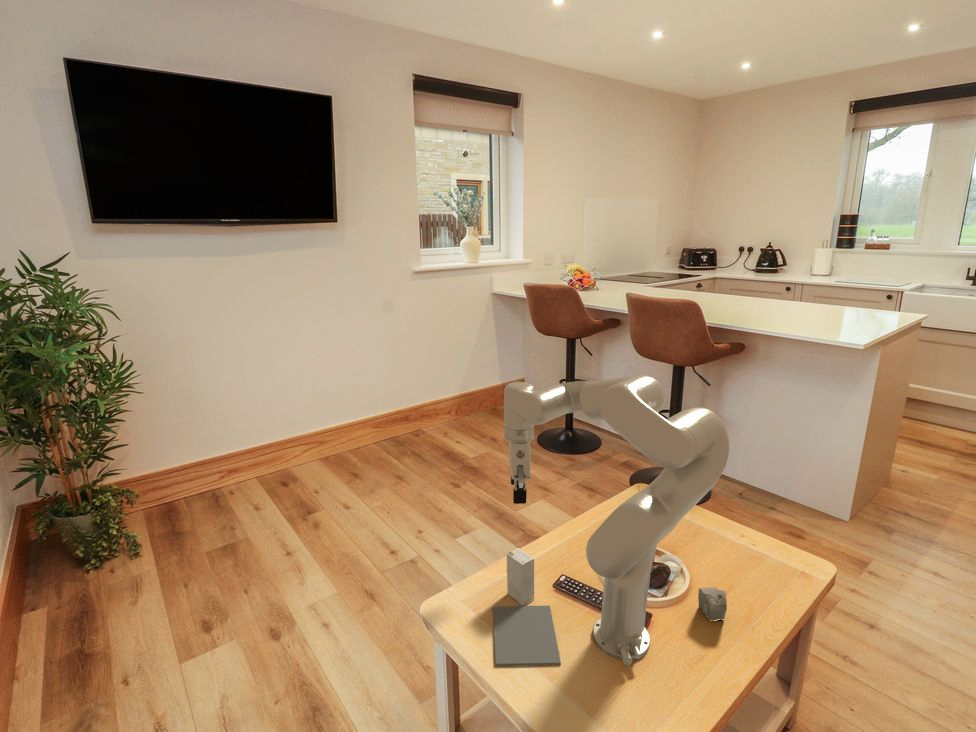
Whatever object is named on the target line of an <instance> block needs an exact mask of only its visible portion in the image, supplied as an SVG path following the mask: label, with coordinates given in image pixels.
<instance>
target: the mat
mask: <svg viewBox="0 0 976 732" xmlns="http://www.w3.org/2000/svg"><path fill="white" fill-rule="evenodd" d="M492 613H493V614H492V616H493V617H492V618H493V634H494V635H493V636H494V658H495V667H512V666H513V667H515V666H516V667H517V666H561V664H562V662H561V657H560V651H559V645H558V642H557V637H556V631H555V625H554V620H553V615H552V610H551V606H550V605H524V606H522V605H512V606H511V605H503V606H502V605H501V606H496V605H495V606H494V605H493V606H492Z"/></svg>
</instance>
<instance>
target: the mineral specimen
mask: <svg viewBox="0 0 976 732" xmlns="http://www.w3.org/2000/svg"><path fill="white" fill-rule="evenodd" d="M697 595H698V597H697V598H698V607H699V608H700V609H702V610H703V611H704V613H705V614H706V615H707V616H708V618H709V619H710V620H717V619H720V620H722V619H724V620H725V618H726V612H727V608H728V605H727V592H726V590H724V589H723V590H722V589H718V588H717V587H713V586H712V587H699V588H698V594H697ZM702 610H701V611H702ZM703 611H702V612H703ZM704 613H703V614H704ZM705 614H704V615H705ZM706 615H705V616H706ZM707 616H706V617H707ZM708 618H707V619H708ZM709 619H708V620H709ZM710 620H709V621H710Z"/></svg>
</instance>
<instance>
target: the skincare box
mask: <svg viewBox="0 0 976 732" xmlns="http://www.w3.org/2000/svg"><path fill="white" fill-rule="evenodd" d="M506 580H507V582H506V583H507V584H506V585H507V586H506V588H507V592H506V593H507V594H508V595H509V596H510V597H511V598H512V599H514V601H516V602H517V603H518V604H520V606H527V605H528V604H529V603H531V602H533V601H534V599H535V558H534V557H532V556H531V555H529V554H528V553H526V552H525V551H524V550H522V549H521V548H519V547H517V548H515V549H513V550H511V551H510V552H508V553H506Z"/></svg>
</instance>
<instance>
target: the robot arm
mask: <svg viewBox="0 0 976 732" xmlns="http://www.w3.org/2000/svg"><path fill="white" fill-rule="evenodd" d="M503 398H504V399H503V438H504V440H506V441H507V442H508V462H509V464H508V465H509V470H510V484H511V486H513V485H514V486H513V487H514V488H512V489H513V494H512V495H513V496H512V499H513V500H512V501H513V505H514V504H515V505H525V504H527V483H526V481H527V480H531V478H532V469H531V468H532V462H531V461H532V452H531V442H532V441H533V440H534V439H535V426H539V425H543V424H546V423H548V422H550V421H553V420H555V419H557V418H559V417H561V416H564V415H567V414H572V413H583V414H584V416H585V417H586V418H587V419H589V420H591V421H593V422H595V421H596V422H598V421H599V422H600V421H605V423H606V424H607V425H608V426H610V428H611V429H612V430H614V431H615V432H616V433H617V434H618V435H619V436H620V437H622V438H623V439H624V440H625V441H627V442H628V443H629V444H630V445H632V447H634V448H636V449H637V450H638V451H639V452H640V453H642V455H644V456H645V457H646V458H647V459H648V460H650V461H652V462H653V463H655V464H656V465H658V466H659V467H662V468H664V469H662V471H660V473H659V474H658V475H657V476H656V477H655V479H654V480H653V481H651V483H649V485H647V486H646V487H645V488H643V489H641V490H639V491H638V492H635V494H633V495H632V496H631V497H629V498H627V500H625V501H623V502H622V503H621V504H620V505H619V506H617V507H616V508H615V509H614V510H613V511H612V512H611V514H610V515H608V516H607V518H606V519H605V520H604V521H603V522H602V524H600V525H599V527H597V529H595V531H594V532H593V533H592V534H591V535H590V537H589V538H588V540H587V543H586V546H585V555H586V560H587V563H588V565H589V566H590V567H591V569H592V570H593V572H594V573H596V574H597V575H598V576H600V577H603V578H604V579H603V592H602V600H601V601H602V603H601V616H600V618H598V619H597V620H596V621H595V623H594V624H593V628H592V629H593V630H592V634H593V639H594V641H595V643H596V645H597V647H598V648H600V650H601V651H603V652H604V653H605V654H607V655H608V656H611V657H613V658H615V659H620V660H622V662H623V664H624V665H626V666H628V665H629V666H630V665H631V664H632V663H633V660H639V659H641V658H642V657H643V656H644V655H645V654H646V653H647V652H648V651H649V649H650V645H651V637H650V633H649V632H648V630H647V629H646V627H645V622H646V615H647V614H646V613H647V606H648V605H647V604H648V598H649V597H648V595H649V587H650V579H651V572H652V567H653V562H654V558H655V556H656V552H657V547H658V544H659V543H660V542H661V541H662V540H664V539H665V538H666V536H668V535H669V534H670V533H671V532H673V530H674V529H675V528H676V527H677V525H678V524H679V523H680V521H682V519H683V518H684V517H685V516H686V515H687V514H688V513H689V512H690V511H692V509H693V508H694V507H695V506H696V505H697V504H698V503H699V502H700V501H701V500H702V499H703V498H704V497H705V496H706V495H707V494H708V493H709V492H710V491H711V490H712V488H713V487H714V486H715V485H716V483H717V482H718V480H719V479H720V477H722V475H723V473H724V470H725V468H726V466H727V463H728V459H729V456H730V438H729V434H728V431H727V429H726V427H725V424H724V422H723V420H722V419H721V418H720V417H719V415H718V414H716V413H715V412H714V411H713V410H710V409H708V408H704V407H692V408H688V409H685V410H681V411H679V412H678V413H675V414H673V415H672V416H670V417H669V418H666V417H664V416H662V415H661V414H659V413H658V412H659V410H661V408H662V406H663V404H664V401H665V391H664V388H663V386H662V384H661V383H660V382H659V381H658V380H657V379H656V378H654V377H651V376H648V375H642V374H641V375H631V376H630V375H629V376H623V377H615V378H607V379H599V380H576V381H569V382H562V383H556V384H554V385H553V384H552V385H551V386H547V387H544V388H542V389H539V390H535V387H534V386H533V384H531V383H529V382H526V381H525V382H524V381H513V382H510V383H508V384H506V385H505V387H504V390H503Z"/></svg>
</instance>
